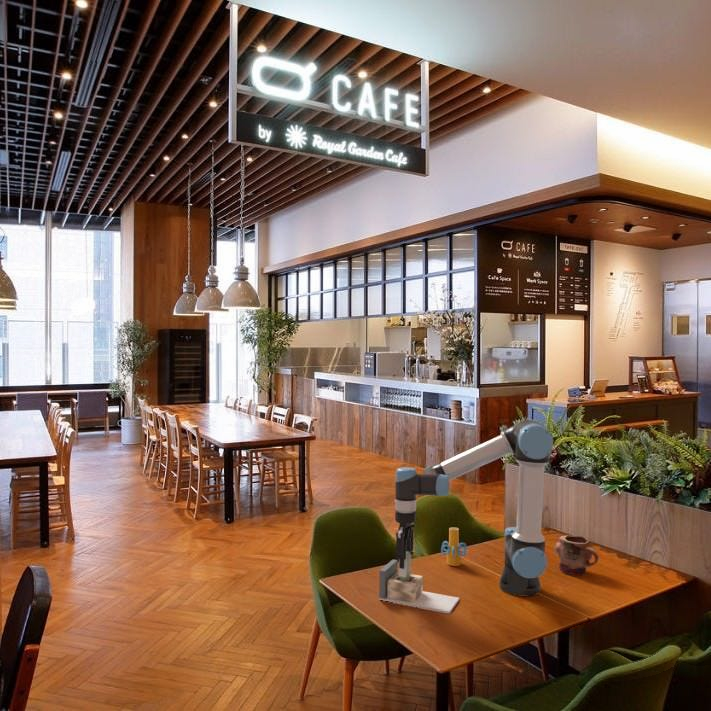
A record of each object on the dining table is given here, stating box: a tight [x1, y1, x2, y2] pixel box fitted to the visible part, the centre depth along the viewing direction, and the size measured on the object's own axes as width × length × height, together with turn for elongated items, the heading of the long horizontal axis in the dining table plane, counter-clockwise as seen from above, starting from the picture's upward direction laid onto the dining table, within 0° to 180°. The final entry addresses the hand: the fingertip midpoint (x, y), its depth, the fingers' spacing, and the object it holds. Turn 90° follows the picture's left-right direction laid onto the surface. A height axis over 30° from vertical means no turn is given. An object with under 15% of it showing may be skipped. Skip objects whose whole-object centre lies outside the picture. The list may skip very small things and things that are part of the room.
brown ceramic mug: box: [554, 534, 599, 577], centre depth 250 cm, size 20×12×14 cm, turn 38°
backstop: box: [378, 559, 460, 615], centre depth 221 cm, size 26×13×11 cm, turn 65°
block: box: [387, 571, 424, 602], centre depth 224 cm, size 10×10×6 cm
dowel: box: [399, 551, 411, 582], centre depth 224 cm, size 4×4×12 cm
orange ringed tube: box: [440, 527, 467, 567], centre depth 259 cm, size 12×10×15 cm
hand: (404, 574), depth 224 cm, fingers closed on dowel, 4 cm apart
